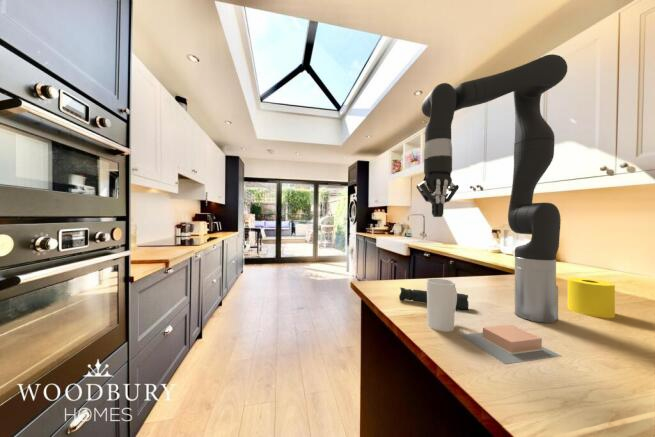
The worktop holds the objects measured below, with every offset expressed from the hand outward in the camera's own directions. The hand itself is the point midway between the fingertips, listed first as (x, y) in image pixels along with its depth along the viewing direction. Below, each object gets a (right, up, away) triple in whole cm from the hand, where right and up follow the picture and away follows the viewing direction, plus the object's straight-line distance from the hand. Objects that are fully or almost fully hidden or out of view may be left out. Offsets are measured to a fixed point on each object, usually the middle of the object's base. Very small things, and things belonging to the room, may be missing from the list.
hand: (437, 216), depth 71 cm
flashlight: (+3, -30, +10) cm, 31 cm away
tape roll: (+50, -30, +5) cm, 58 cm away
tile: (+5, -27, -17) cm, 33 cm away
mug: (-1, -29, -7) cm, 30 cm away
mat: (+8, -29, -17) cm, 34 cm away
